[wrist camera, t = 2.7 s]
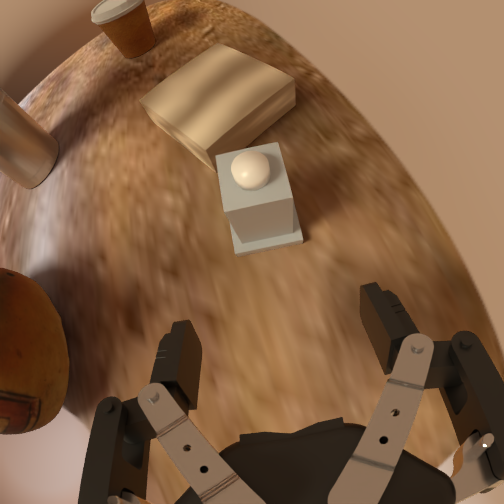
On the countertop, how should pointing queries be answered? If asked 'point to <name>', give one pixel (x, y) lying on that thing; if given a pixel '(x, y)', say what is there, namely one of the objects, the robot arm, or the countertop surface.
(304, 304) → the countertop surface
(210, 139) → the birch block
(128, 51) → the disposable coffee cup
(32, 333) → the ceramic pitcher
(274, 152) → the grey box with knob
